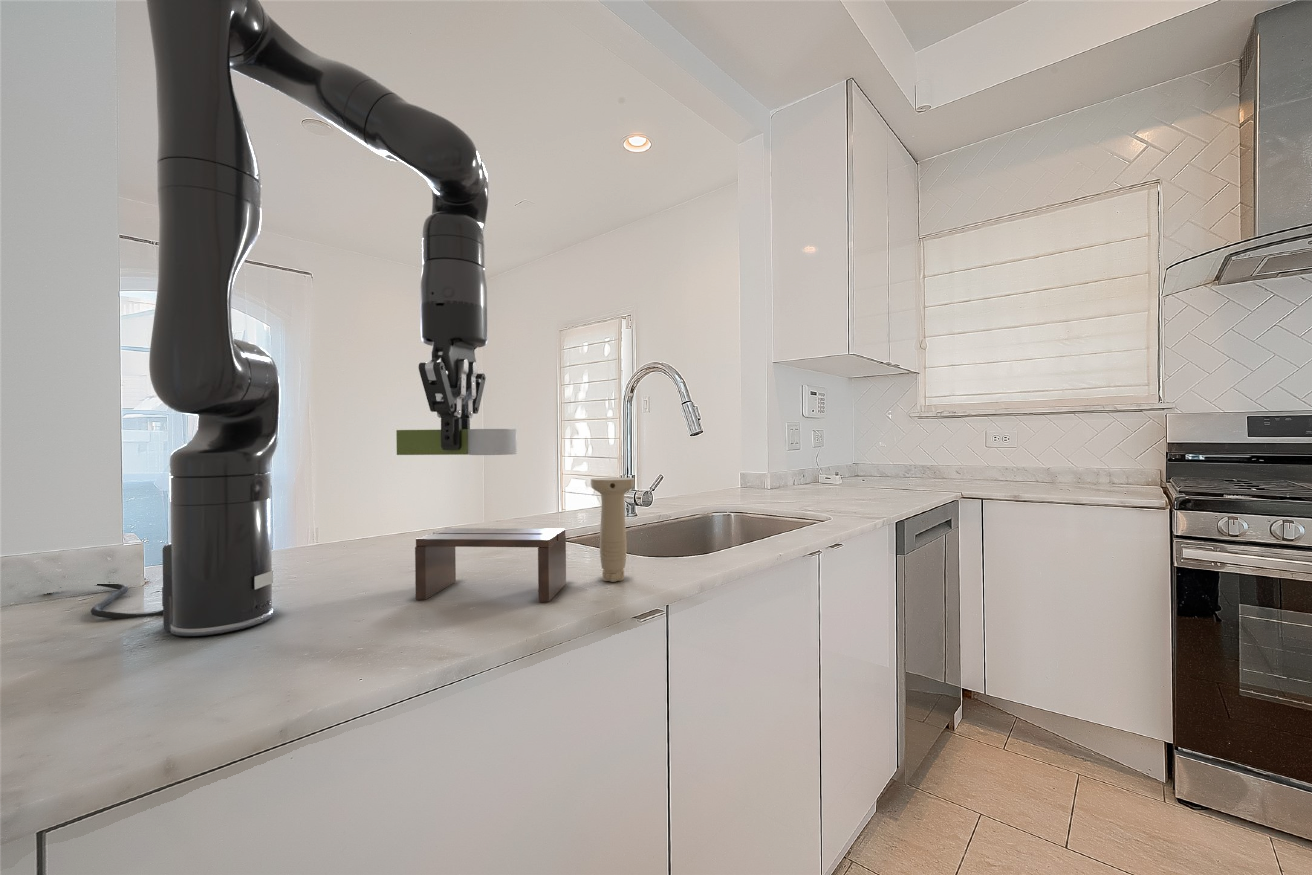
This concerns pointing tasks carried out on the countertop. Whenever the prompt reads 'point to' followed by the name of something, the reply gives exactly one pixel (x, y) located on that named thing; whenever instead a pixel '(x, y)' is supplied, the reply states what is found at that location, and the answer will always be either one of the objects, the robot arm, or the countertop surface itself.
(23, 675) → the countertop surface
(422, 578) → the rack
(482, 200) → the robot arm
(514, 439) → the green handled white cylinder
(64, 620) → the countertop surface
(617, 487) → the handle
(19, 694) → the countertop surface
